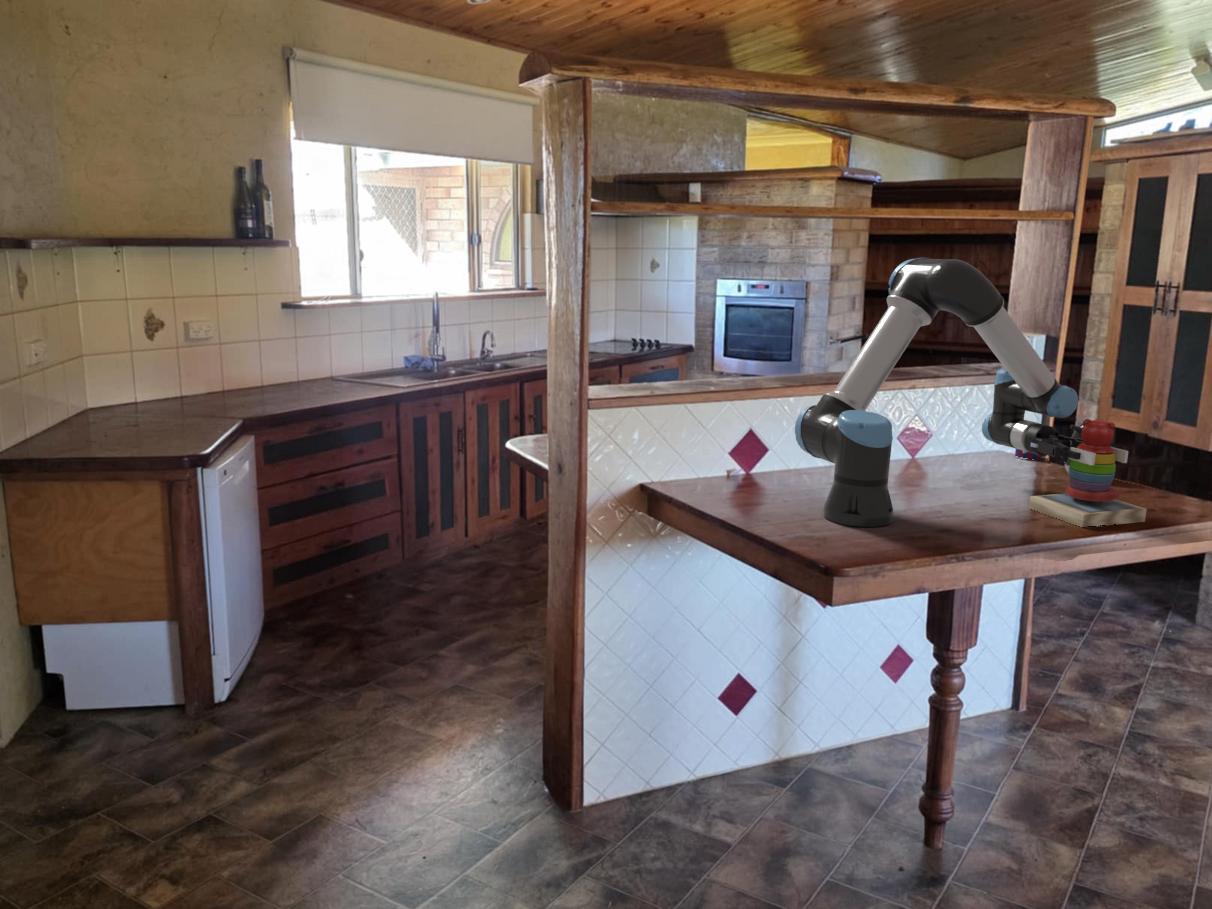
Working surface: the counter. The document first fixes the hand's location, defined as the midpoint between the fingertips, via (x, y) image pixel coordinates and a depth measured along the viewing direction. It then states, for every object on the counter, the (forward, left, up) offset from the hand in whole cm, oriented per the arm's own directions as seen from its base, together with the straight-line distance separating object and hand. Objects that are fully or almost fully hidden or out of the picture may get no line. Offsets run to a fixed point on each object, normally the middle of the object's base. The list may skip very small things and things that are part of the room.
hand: (1110, 458), depth 213 cm
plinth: (0, +5, -14) cm, 15 cm away
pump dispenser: (+29, +35, -15) cm, 47 cm away
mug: (+32, +57, -15) cm, 67 cm away
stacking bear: (0, +5, -10) cm, 11 cm away
